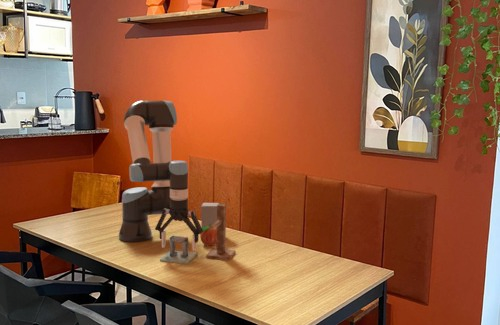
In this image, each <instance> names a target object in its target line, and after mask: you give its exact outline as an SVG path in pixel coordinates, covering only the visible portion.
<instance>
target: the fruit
mask: <svg viewBox="0 0 500 325" xmlns="http://www.w3.org/2000/svg"><path fill="white" fill-rule="evenodd" d="M211 226H212V225H210V224H209V226H206V227H203V228H202V227H201V228H202V230H203V232H202V233H201V234H199V235H200V241H201V242H202V244H204V246H208V247H210V246H214V245H217V229H215V230H211Z"/></svg>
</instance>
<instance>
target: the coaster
mask: <svg viewBox="0 0 500 325" xmlns="http://www.w3.org/2000/svg"><path fill="white" fill-rule="evenodd" d="M175 252H177V255H176V256H175V257H171V256H170V250H168V252H166V253H165V254H164V255H163V256H162V257H160V258H159V261H160V262H165V263H174V264H185V265H188V264H189V263H190V262H191V261H192V260H193V259H194V258H196V256H198V252H193V251H188V256H187V257H186V258H181V254H182V253H183V250H175Z"/></svg>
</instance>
